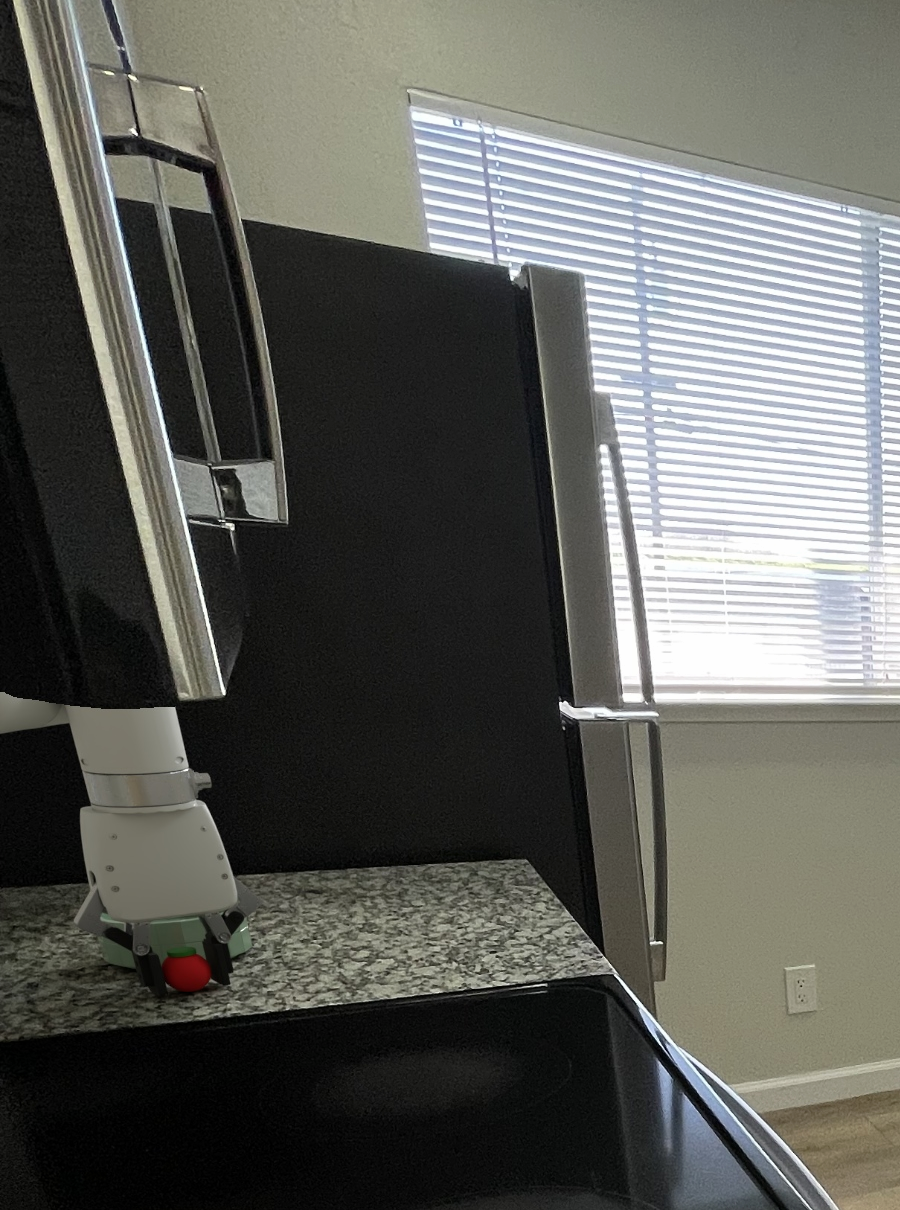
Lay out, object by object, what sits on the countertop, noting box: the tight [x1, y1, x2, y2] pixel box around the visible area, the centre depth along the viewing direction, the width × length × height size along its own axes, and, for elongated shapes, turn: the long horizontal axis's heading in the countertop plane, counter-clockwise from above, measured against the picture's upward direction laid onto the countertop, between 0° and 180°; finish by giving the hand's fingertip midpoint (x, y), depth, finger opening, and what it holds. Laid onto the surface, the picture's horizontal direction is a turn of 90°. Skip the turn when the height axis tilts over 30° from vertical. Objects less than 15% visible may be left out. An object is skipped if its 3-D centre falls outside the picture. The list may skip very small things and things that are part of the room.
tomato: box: [161, 947, 211, 993], centre depth 116 cm, size 4×4×4 cm
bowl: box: [96, 908, 253, 970], centre depth 125 cm, size 12×12×5 cm
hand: (189, 985), depth 116 cm, fingers open, 4 cm apart
